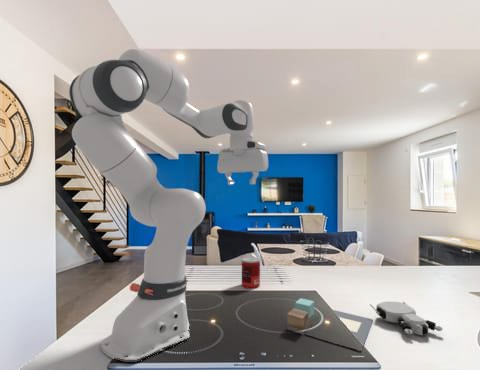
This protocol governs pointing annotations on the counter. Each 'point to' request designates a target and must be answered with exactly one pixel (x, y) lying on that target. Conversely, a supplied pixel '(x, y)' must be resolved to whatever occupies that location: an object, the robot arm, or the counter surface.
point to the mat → (356, 324)
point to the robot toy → (404, 317)
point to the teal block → (305, 306)
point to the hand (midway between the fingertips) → (241, 184)
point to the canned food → (250, 272)
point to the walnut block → (297, 319)
